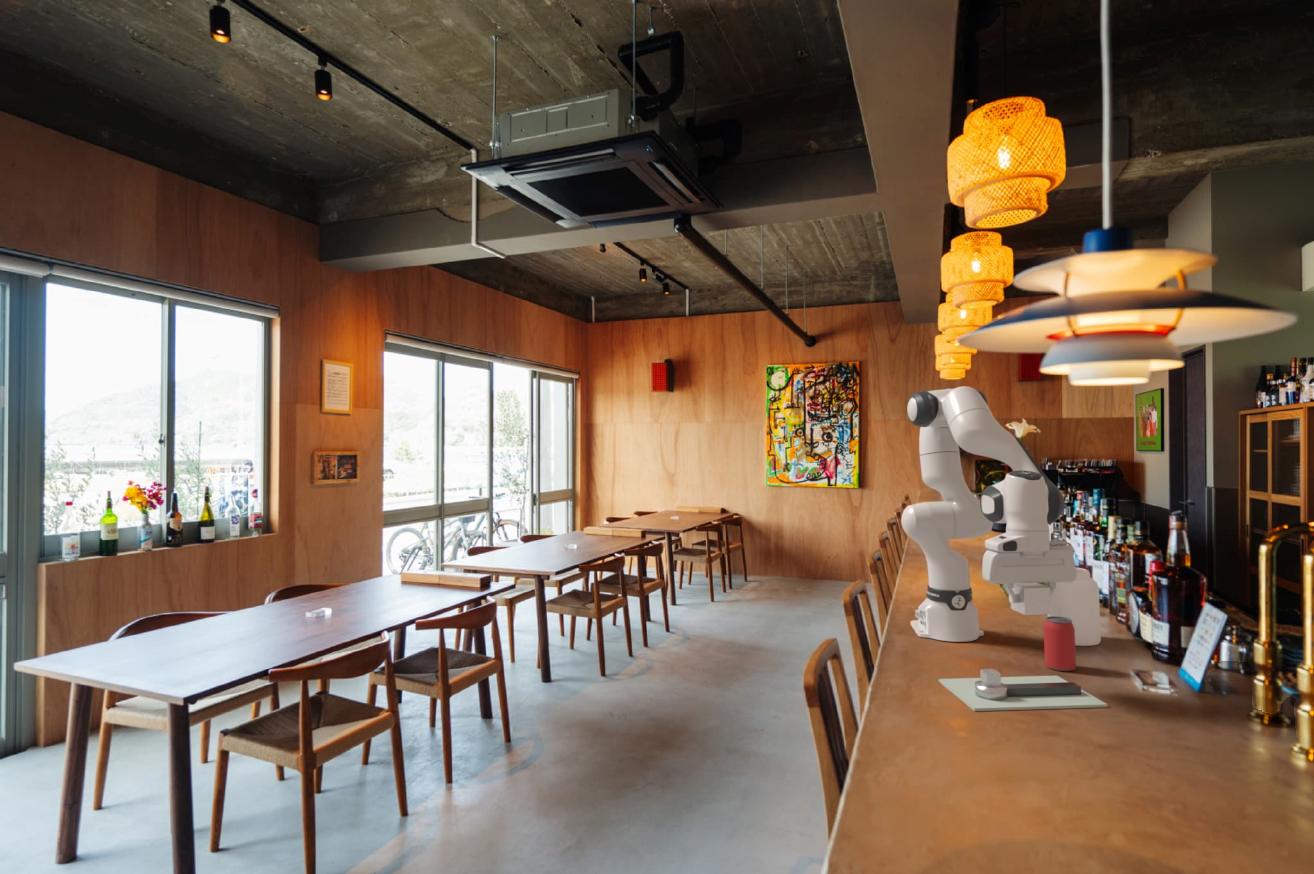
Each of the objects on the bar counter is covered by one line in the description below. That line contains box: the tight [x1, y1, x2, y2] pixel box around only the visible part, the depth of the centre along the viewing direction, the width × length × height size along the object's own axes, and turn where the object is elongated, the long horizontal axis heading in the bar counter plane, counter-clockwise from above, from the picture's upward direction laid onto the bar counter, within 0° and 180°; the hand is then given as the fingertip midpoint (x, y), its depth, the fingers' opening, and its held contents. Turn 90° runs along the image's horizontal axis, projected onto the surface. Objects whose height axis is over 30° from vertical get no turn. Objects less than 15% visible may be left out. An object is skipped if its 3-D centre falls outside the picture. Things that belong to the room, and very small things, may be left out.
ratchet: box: [975, 668, 1082, 701], centre depth 149 cm, size 6×22×5 cm, turn 90°
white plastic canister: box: [1047, 567, 1102, 647], centre depth 190 cm, size 12×12×20 cm
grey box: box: [1010, 583, 1051, 616], centre depth 156 cm, size 6×6×6 cm
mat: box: [938, 675, 1109, 712], centre depth 151 cm, size 18×28×1 cm, turn 90°
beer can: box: [1043, 616, 1077, 672], centre depth 167 cm, size 7×7×12 cm
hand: (1030, 602), depth 156 cm, fingers closed on grey box, 6 cm apart
